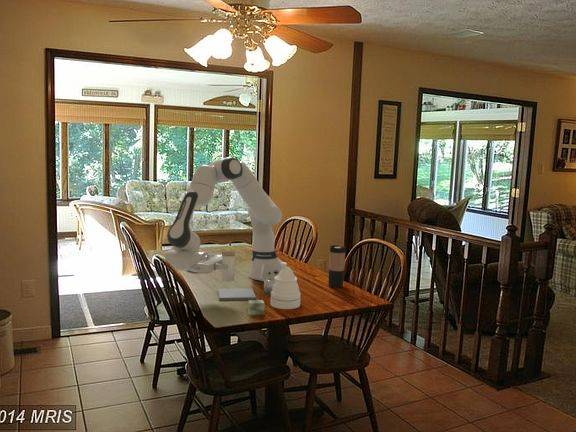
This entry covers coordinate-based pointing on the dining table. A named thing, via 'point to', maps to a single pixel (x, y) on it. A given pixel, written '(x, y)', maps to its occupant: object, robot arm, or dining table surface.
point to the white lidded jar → (229, 260)
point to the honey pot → (285, 290)
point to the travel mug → (336, 266)
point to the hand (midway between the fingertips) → (230, 265)
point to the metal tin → (268, 285)
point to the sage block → (256, 307)
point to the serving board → (236, 294)
